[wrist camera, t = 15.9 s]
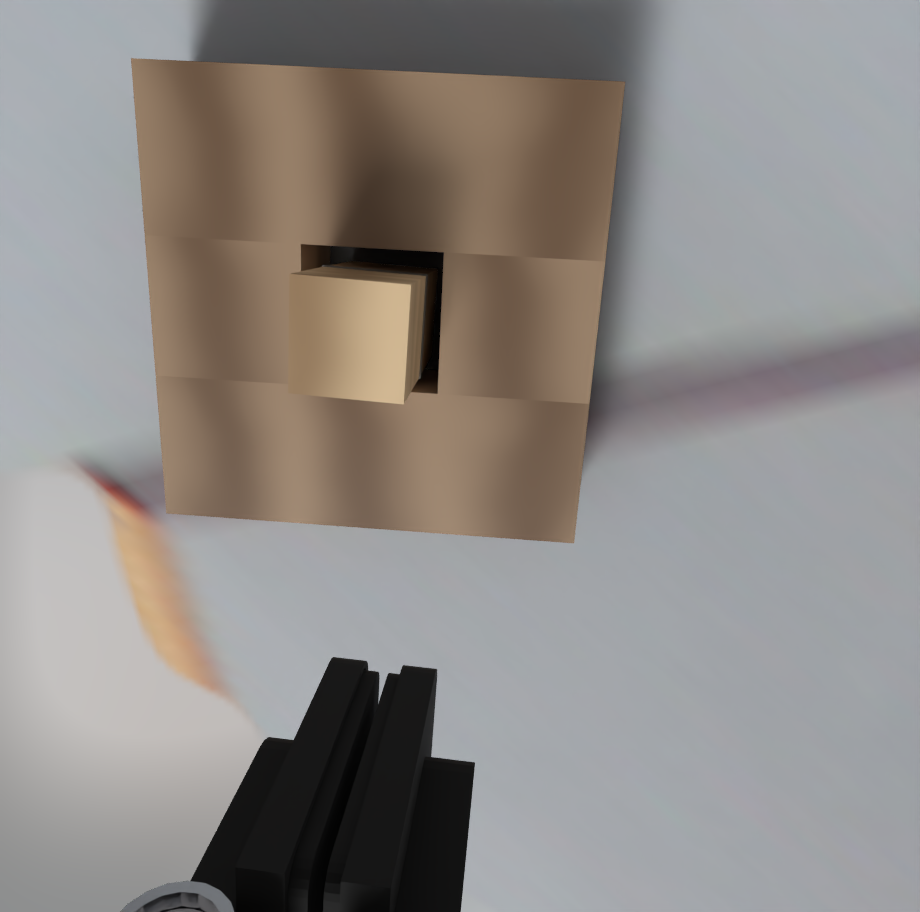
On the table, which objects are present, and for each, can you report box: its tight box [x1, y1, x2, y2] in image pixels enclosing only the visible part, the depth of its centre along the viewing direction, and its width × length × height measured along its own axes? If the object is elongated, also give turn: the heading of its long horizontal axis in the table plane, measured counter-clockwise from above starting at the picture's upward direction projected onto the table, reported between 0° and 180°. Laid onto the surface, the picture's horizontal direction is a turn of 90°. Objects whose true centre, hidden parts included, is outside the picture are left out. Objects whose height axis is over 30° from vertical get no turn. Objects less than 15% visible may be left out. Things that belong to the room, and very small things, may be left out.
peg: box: [288, 261, 438, 404], centre depth 29 cm, size 4×4×10 cm
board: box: [131, 58, 625, 543], centre depth 31 cm, size 18×18×5 cm
